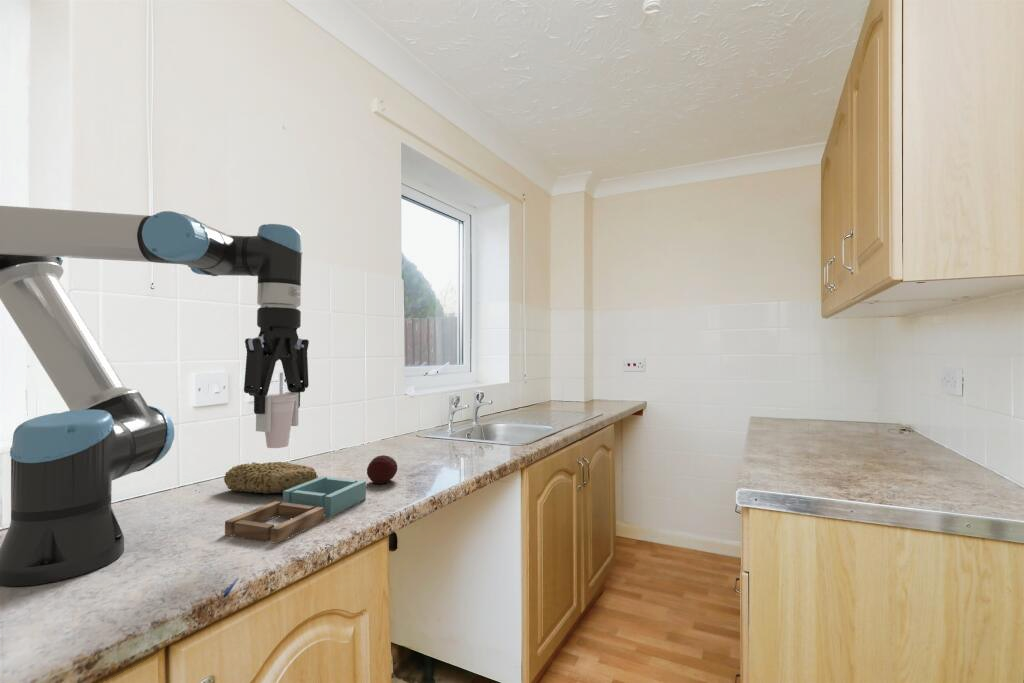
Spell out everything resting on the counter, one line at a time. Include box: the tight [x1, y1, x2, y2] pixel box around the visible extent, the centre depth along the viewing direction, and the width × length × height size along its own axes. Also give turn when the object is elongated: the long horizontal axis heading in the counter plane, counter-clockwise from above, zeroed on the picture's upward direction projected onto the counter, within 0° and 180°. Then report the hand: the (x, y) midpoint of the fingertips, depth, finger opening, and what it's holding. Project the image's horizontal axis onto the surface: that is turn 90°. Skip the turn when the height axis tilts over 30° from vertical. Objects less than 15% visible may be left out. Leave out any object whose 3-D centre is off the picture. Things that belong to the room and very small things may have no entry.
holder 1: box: [224, 500, 325, 544], centre depth 92 cm, size 12×12×2 cm
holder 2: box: [282, 476, 367, 517], centre depth 106 cm, size 12×12×4 cm
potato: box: [366, 454, 398, 485], centre depth 123 cm, size 7×8×7 cm
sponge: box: [223, 461, 319, 494], centre depth 115 cm, size 13×8×20 cm
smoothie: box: [264, 372, 297, 449], centre depth 92 cm, size 6×6×14 cm
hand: (277, 428), depth 92 cm, fingers closed on smoothie, 6 cm apart
